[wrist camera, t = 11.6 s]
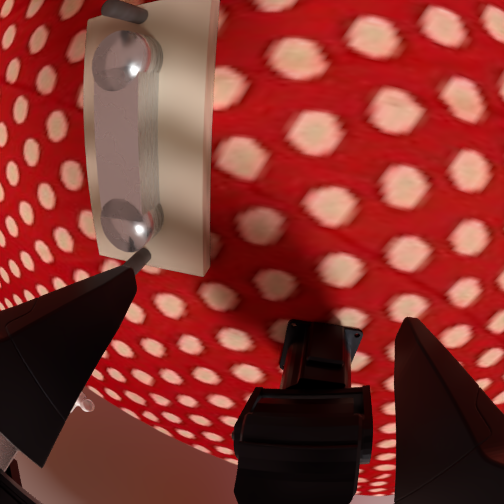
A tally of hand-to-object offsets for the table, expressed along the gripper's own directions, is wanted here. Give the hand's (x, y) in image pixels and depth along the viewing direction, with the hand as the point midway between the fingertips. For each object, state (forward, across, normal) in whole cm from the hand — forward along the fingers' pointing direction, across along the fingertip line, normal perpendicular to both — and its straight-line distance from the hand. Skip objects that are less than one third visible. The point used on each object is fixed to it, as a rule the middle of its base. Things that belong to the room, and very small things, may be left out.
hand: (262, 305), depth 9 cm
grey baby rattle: (+10, +11, -3) cm, 16 cm away
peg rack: (+12, +11, -3) cm, 17 cm away
